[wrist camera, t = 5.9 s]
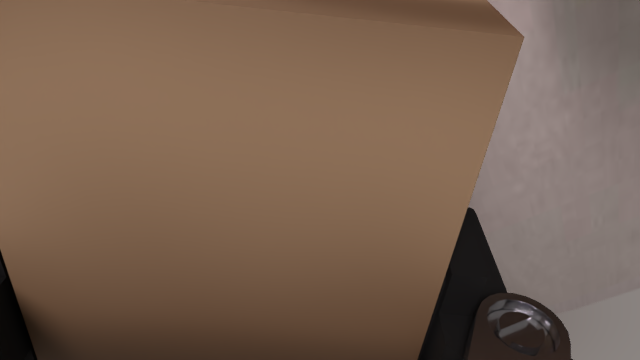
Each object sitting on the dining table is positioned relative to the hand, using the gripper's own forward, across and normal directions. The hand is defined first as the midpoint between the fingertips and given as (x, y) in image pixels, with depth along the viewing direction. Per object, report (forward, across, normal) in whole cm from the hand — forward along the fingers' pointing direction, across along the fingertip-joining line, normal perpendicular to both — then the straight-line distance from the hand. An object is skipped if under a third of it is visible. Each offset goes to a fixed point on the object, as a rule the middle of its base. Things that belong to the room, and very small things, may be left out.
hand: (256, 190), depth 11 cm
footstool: (+5, 0, 0) cm, 5 cm away
